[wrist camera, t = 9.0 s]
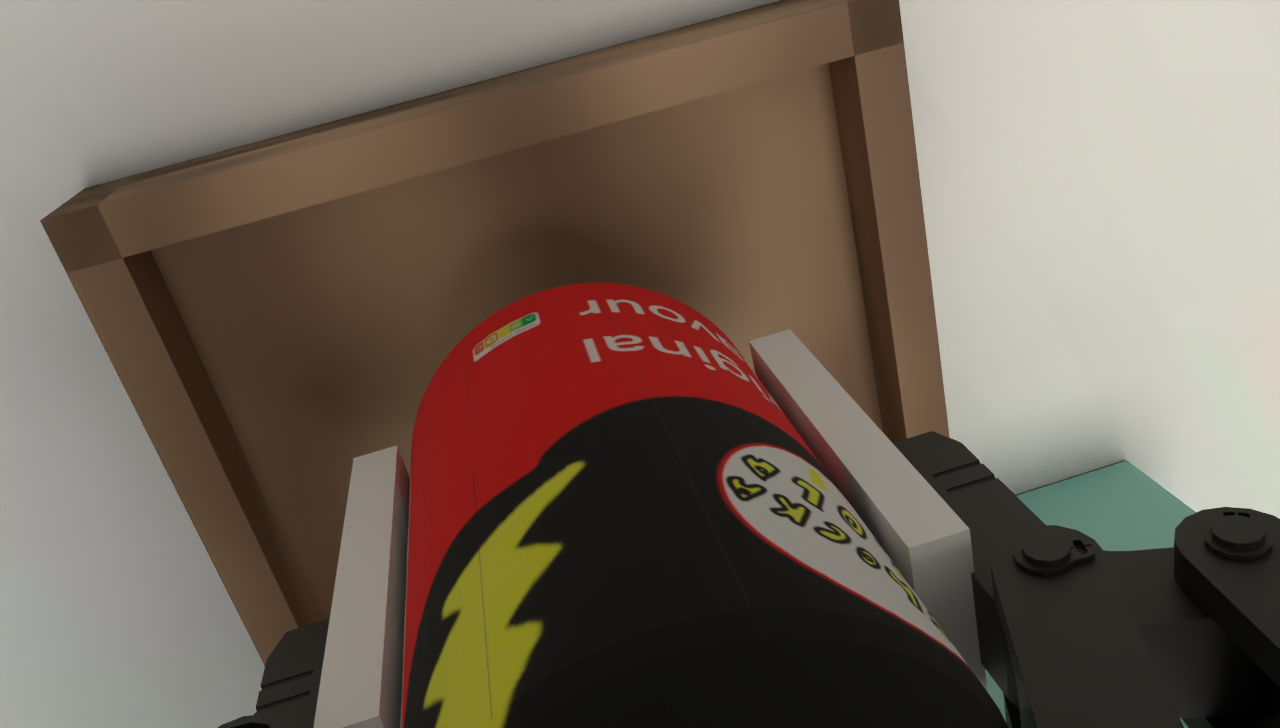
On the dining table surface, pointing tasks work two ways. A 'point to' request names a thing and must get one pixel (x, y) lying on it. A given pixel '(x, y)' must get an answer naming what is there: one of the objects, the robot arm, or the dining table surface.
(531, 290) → the tray
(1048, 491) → the teal open box
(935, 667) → the beverage can
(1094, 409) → the dining table surface
